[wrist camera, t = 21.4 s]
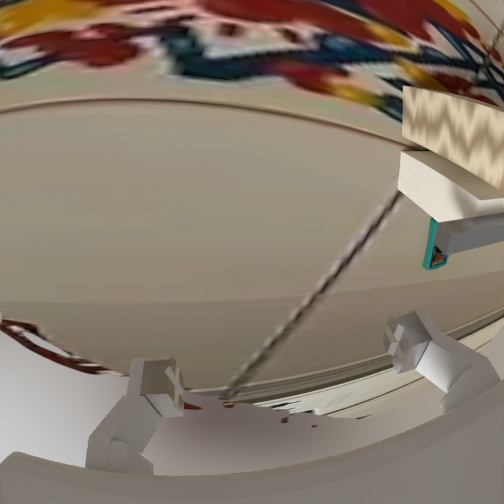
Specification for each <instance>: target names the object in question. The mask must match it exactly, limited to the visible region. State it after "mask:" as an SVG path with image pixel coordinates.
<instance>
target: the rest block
mask: <svg viewBox="0 0 504 504" xmlns="http://www.w3.org/2000/svg"><path fill="white" fill-rule="evenodd" d="M398 190H400V191H401V192H402V193H404V194H405V195H406V196H407V197H409V198H410V199H411V200H412V201H414V202H415V203H416V204H417V205H418V206H420V207H421V208H422V209H423V210H424V211H426V212H427V213H428V214H429V215H430V216H432V217H433V218H434V219H435V220H436V221H437V222H444V221H451V220H457V219H464V218H470V217H477V216H483V215H490V214H496V213H503V212H504V193H503V192H501V191H500V190H498V189H497V188H495V187H494V186H492V185H491V184H489V183H487V182H486V181H484V180H483V179H481V178H480V177H478V176H476V175H475V174H473V173H471V172H470V171H468V170H466V169H464V168H463V167H461V166H459V165H458V164H456V163H454V162H452V161H450V160H448V159H447V158H445V157H443V156H441V155H439V154H437V153H435V152H433V151H401V161H400V173H399V183H398Z"/></svg>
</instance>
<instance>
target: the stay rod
mask: <svg viewBox="0 0 504 504" xmlns="http://www.w3.org/2000/svg"><path fill="white" fill-rule="evenodd" d="M501 241H504V212H503V213H496V214H490V215H483V216H477V217H470V218H464V219H457V220H451V221H444V222H438V224H437V229H436V233H435V237H434V241H433V243H434V244H435V245H436V246H437V247H438V248H439V249H440V250H441V251H442V252H443V253H444V254H445V255H449V254H453V253H457V252H461V251H465V250H469V249H474V248H478V247H481V246H485V245H489V244H493V243H497V242H501Z"/></svg>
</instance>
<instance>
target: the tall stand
mask: <svg viewBox="0 0 504 504" xmlns="http://www.w3.org/2000/svg"><path fill="white" fill-rule="evenodd" d="M402 137H405V138H407V139H409V140H411V141H413V142H415V143H417V144H419V145H421V146H423V147H425V148H427V149H429V150H431V151H433V152H435V153H437V154H439V155H441V156H443V157H445V158H447V159H448V160H450V161H452V162H454V163H456V164H458V165H459V166H461V167H463V168H464V169H466V170H468V171H470V172H471V173H473V174H475V175H476V176H478V177H480V178H481V179H483V180H484V181H486V182H487V183H489V184H491V185H492V186H494V187H495V188H497V189H498V190H500V191H501V192H503V193H504V109H503V108H500V107H497V106H494V105H491V104H488V103H485V102H482V101H478V100H475V99H472V98H468V97H464V96H461V95H457V94H453V93H449V92H444V91H438V90H432V89H425V88H418V87H411V86H403V128H402Z"/></svg>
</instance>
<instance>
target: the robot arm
mask: <svg viewBox="0 0 504 504" xmlns="http://www.w3.org/2000/svg"><path fill="white" fill-rule="evenodd" d="M387 324H388V326H389V327H388V328H387V329H386V330H385V331H384V335H383V343H384V346H385V349H386V351H387V353H389V354H390V355H392V356H393V358H392V363H393V365H394V367H395V369H396V371H397V373H398V374H400V373H403V372H406V371H409V370H412V369H415V368H416V370H417V371H418V372H420V373H421V374H422V375H423V376H425V377H426V378H427V379H429V380H430V381H431V382H433V383H434V384H435V385H437V386H438V387H439V388H441V389H442V390H443V391H445V392H446V393H447V394H446V395H445V396H444V398H443V399H442V400H441V402H440V406H441V408H442V410H443V413H444V414H443V415H441V416H439V417H437V418H435V419H433V420H431V421H429V422H426V423H424V424H422V425H420V426H417V427H415V428H413V429H410V430H408V431H406V432H403V433H401V434H398V435H396V436H393V437H390V438H388V439H385V440H382V441H379V442H376V443H374V444H371V445H368V446H365V447H362V448H358V449H355V450H352V451H348V452H345V453H342V454H338V455H334V456H330V457H327V458H323V459H319V460H314V461H310V462H305V463H300V464H295V465H291V466H285V467H279V468H273V469H266V470H259V471H252V472H243V473H233V474H222V475H221V474H220V475H204V476H203V475H201V476H158V475H153V474H154V473H153V463H152V462H151V460H149V459H148V458H146V457H145V456H143V455H142V452H143V450H144V449H145V447H146V445H147V444H148V442H149V440H150V439H151V437H152V435H153V434H154V432H155V431H156V429H157V427H158V426H159V424H160V422H161V421H162V418H163V417H178V416H183V415H184V412H183V411H184V401H183V399H182V397H181V396H180V395H181V394H182V393H183V391H184V382H183V376H182V373H181V370H180V368H178V367H176V361H175V359H174V357H173V356H168V357H151V358H134V359H133V361H132V363H131V369H130V375H129V383H128V389H127V396H123V397H122V398H121V399H120V400H119V401H118V403H117V404H116V405H115V406H114V407H113V409H112V410H111V411H110V412H109V413H108V415H107V416H106V417H105V418H104V419H103V421H102V422H101V423H100V424H99V426H98V427H97V428H96V429H95V430H94V432H93V433H92V434H91V435H90V436H89V441H88V448H87V456H86V464H85V468H83V467H78V466H73V465H68V464H63V463H59V462H54V461H50V460H46V459H42V458H39V457H35V456H31V455H28V454H25V453H22V452H13V453H11V454H10V455H9V456H8V457H7V458H6V459H4V460H3V461H2V463H1V464H0V504H504V380H502V381H501V379H500V377H499V376H498V374H497V372H496V371H495V369H494V367H493V366H492V364H491V363H490V361H489V360H488V358H487V357H485V356H483V355H482V354H480V353H478V352H476V351H474V350H473V349H471V348H469V347H467V346H465V345H463V344H462V343H460V342H458V341H456V340H454V339H452V338H451V337H449V336H447V335H444V336H443V335H442V333H441V332H440V330H439V329H438V327H437V326H436V324H435V323H434V321H433V320H432V318H431V317H430V316H429V314H428V313H427V311H426V310H425V309H424V308H418V309H415V310H412V311H408V312H404V313H401V314H398V315H394V316H391V317H390V318H389V319H388V322H387Z"/></svg>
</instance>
